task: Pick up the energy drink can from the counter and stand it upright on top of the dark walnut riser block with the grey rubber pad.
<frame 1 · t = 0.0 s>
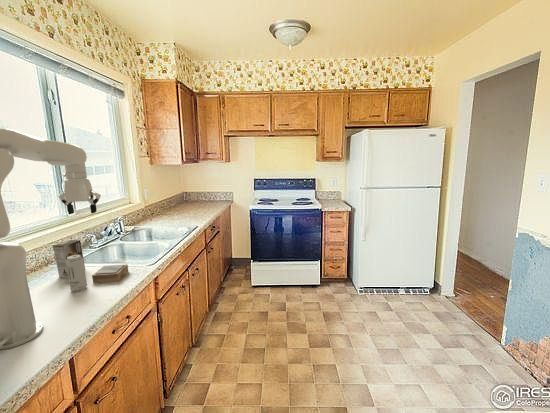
hand: (82, 213, 127), 31 cm above the countertop, tool pointing down, fingers open, 9 cm apart
energy drink can: (79, 289, 121), on the countertop
walnut riser: (111, 277, 132), on the countertop
coffee box: (72, 273, 137), on the countertop
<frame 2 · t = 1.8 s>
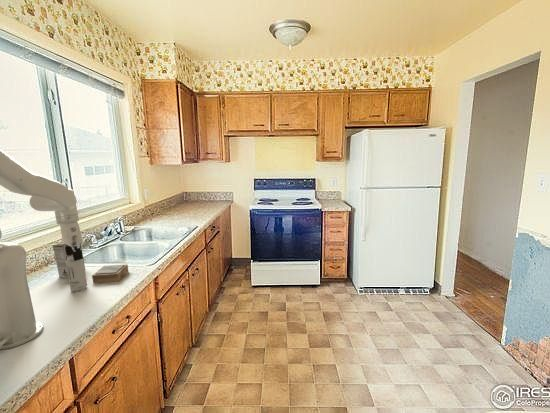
hand: (74, 256, 119), 15 cm above the countertop, tool pointing down, fingers open, 9 cm apart
nothing on the countertop moved.
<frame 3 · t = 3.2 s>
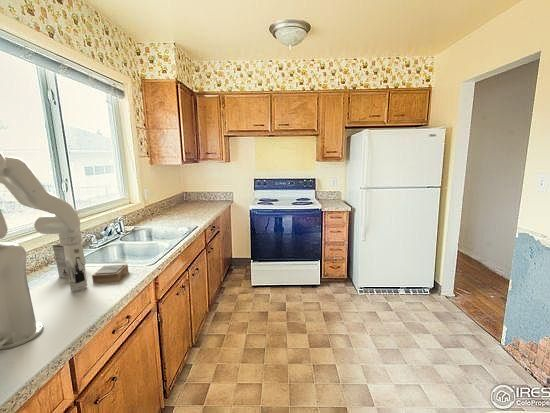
hand: (77, 279, 120), 5 cm above the countertop, tool pointing down, fingers closed on energy drink can, 6 cm apart
energy drink can: (79, 289, 121), on the countertop, touching gripper
everything else where it was.
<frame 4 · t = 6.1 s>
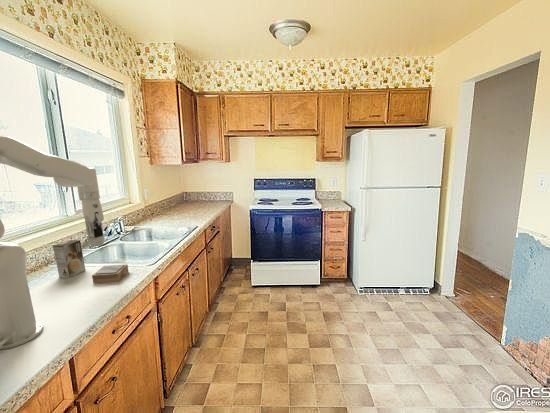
hand: (95, 235, 124), 22 cm above the countertop, tool pointing down, fingers closed on energy drink can, 6 cm apart
energy drink can: (97, 245, 125), point 17 cm above the countertop, touching gripper
everything else where it was.
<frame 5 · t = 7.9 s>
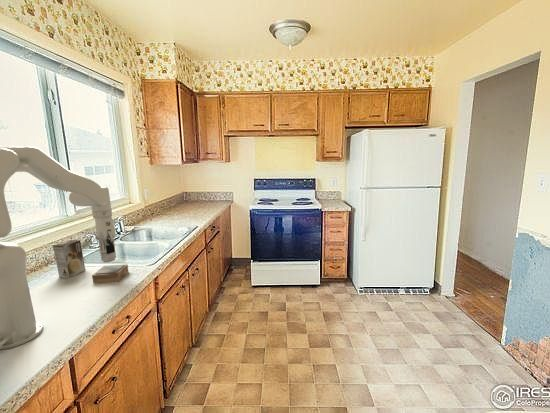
hand: (107, 251, 129), 13 cm above the countertop, tool pointing down, fingers closed on energy drink can, 6 cm apart
energy drink can: (109, 260, 130), point 8 cm above the countertop, touching gripper
everything else where it was.
when the fingers open (10 cm above the countertop, at t = 9.3 s): energy drink can drops 1 cm, resting on walnut riser.
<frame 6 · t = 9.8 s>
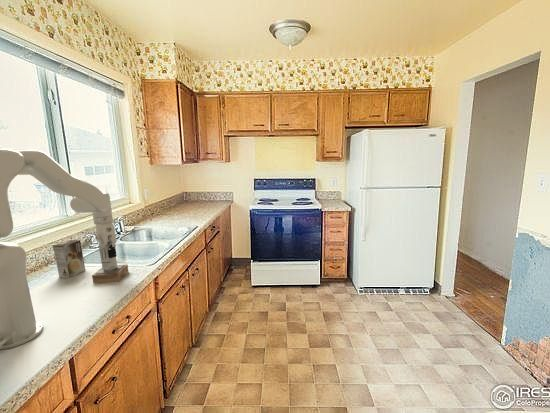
hand: (108, 255, 129), 11 cm above the countertop, tool pointing down, fingers open, 9 cm apart
energy drink can: (110, 269, 131), point 4 cm above the countertop, touching walnut riser
everything else where it was.
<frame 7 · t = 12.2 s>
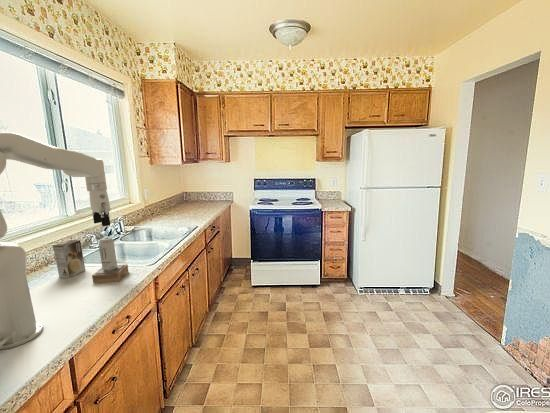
hand: (102, 224, 126), 26 cm above the countertop, tool pointing down, fingers open, 9 cm apart
nothing on the countertop moved.
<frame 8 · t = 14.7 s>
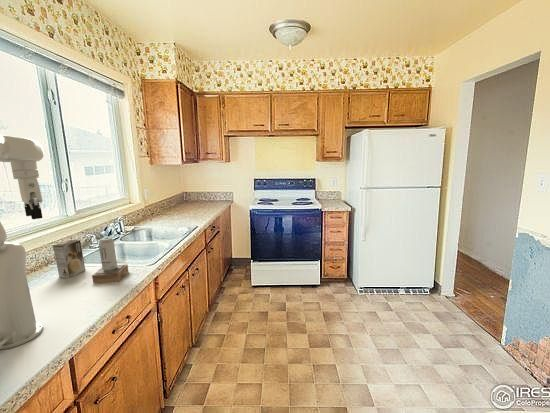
hand: (34, 217, 111), 33 cm above the countertop, tool pointing down, fingers open, 9 cm apart
nothing on the countertop moved.
at the end: energy drink can 0.2 cm off-centre on the walnut riser, point 4.2 cm above the walnut riser's base; energy drink can tilted 0°; the gripper is holding nothing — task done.
